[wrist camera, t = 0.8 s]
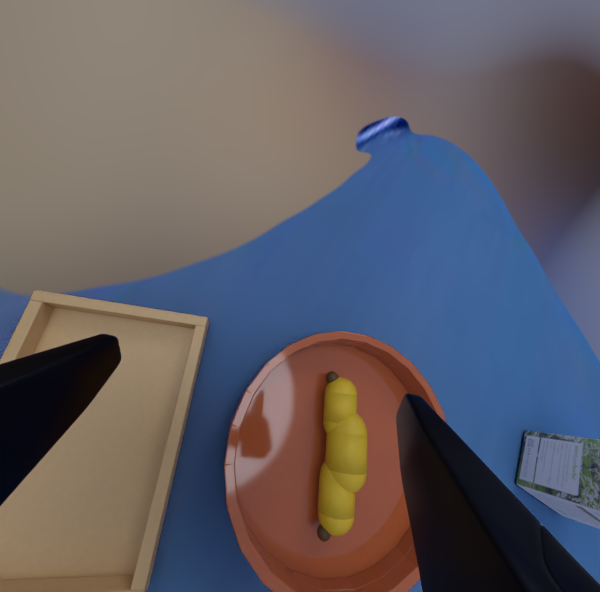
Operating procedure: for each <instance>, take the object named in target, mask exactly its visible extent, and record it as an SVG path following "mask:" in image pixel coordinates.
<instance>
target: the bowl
mask: <svg viewBox="0 0 600 592" xmlns="http://www.w3.org/2000/svg"><path fill="white" fill-rule="evenodd" d="M330 371H334V372H336V373H337V374H338V376H339V377H344V378H346V379H348V380H350V381H351V382H352V383H353V384H354V386H355V388H356V391H357V414H358V415H359V416H360V417H361V418H362V419H363V421H364V423H365V425H366V428H367V477H366V481H365V483H364V485H363V487H362V488H361V489H360V490H359V491H358V492H356V493H355V515H354V522H353V525H352V527H351V529H350V530H349V531H348V532H347V533H346V534H345V535H342V536H333V535H331V536H330V538H329V540H328V541H325V542H324V541H321V540H320V539H319V537H318V535H317V528H318V526H319V525H320V521H319V518H318V494H319V478H320V470H321V467H322V465H323V463H324V462H325V453H326V436H327V433H326V431H325V429H324V426H323V413H324V397H325V388H326V386H327V384H328V382H327V381H326V375H327V373H328V372H330ZM407 393H409V394H414V395H419V396H421V397H422V398H423V399H424V400H425V401H426V402H427V403H428V404H429V405H430V406H431V407H432V409H433V410H434V411H435V412H436V413H437V414H438V415H439V416H440V417H441V418H442V419H443V420H444V421H445V422H446V419H445V416H444V413H443V410H442V408H441V406H440V404H439V402H438V400H437V398H436V396H435V394H434V392H433V390H432V388H431V386H430V385H429V383H428V382H427V381H426V380H425V378H424V377H423V376H422V375H421V373H420V372H419V371H418V370H417V368H416V367H415V366H414V365H413V363H411V362H410V361H409V360H408V359H406V358H405V357H404V356H403V355H401V354H400V353H399V352H398V351H396V350H395V349H394V348H393V347H391V346H390V345H387V344H385V343H383V342H381V341H379V340H376V339H374V338H372V337H370V336H368V335H363V334H357V333H351V332H345V331H337V332H328V333H319V334H314V335H312V336H309V337H307V338H305V339H302V340H300V341H297V342H295V343H293V344H290V345H289V346H287V347H286V348H284V349H283V350H282V351H280V352H279V353H278V354H277V355H275V356H274V357H273V358H271V359H270V360H269V361H268V362H266V363H265V364H264V365H263V366H262V367H261V368H260V369H259V371H258V372H257V373H256V374H255V376H254V377H253V378H252V379H251V381H250V382H249V384H248V385H247V386H246V388H245V389H244V391H243V393H242V395H241V397H240V399H239V401H238V403H237V405H236V408H235V411H234V413H233V416H232V418H231V421H230V425H229V431H228V435H227V442H226V448H225V453H224V474H225V490H226V506H227V510H228V513H229V516H230V520H231V523H232V526H233V529H234V532H235V535H236V538H237V542H238V545H239V547H240V550H241V551H242V553H243V554H244V556H245V557H246V559H247V560H248V562H249V563H250V565H251V566H252V568H253V569H254V571H255V572H256V574H257V576H258V577H259V579H260V580H261V582H262V583H264V585H265V586H267V587H268V588H269V589H271V590H272V591H273V592H407V591H409V590H410V589H411V588H412V587H413V586H414V585H415V584H416V583H417V582H418V581H419V580H420V574H419V569H418V564H417V558H416V553H415V548H414V542H413V537H412V532H411V527H410V521H409V516H408V511H407V506H406V500H405V495H404V490H403V485H402V479H401V471H400V461H399V449H398V437H397V426H396V415H397V411H398V409H399V406H400V404H401V401H402V399H403V397H404V395H405V394H407Z"/></svg>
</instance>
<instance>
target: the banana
mask: <svg viewBox="0 0 600 592" xmlns="http://www.w3.org/2000/svg"><path fill="white" fill-rule="evenodd" d="M326 381H327V382H328V384H327V386H326V388H325V397H324V413H323V426H324V429H325V431H326V433H327V436H326V453H325V462H324V463H323V465H322V467H321V470H320V478H319V494H318V518H319V521H320V525H319V526H318V528H317V535H318V537H319V539H320V540H321V541H324V542H325V541H328V540H329V538H330V536H331V535H333V536H342V535H345V534H346V533H347V532H348V531H349V530H350V529H351V527H352V525H353V522H354V515H355V493H356V492H358V491H359V490H360V489H361V488H362V487H363V485H364V483H365V481H366V477H367V428H366V425H365V423H364V421H363V419H362V418H361V417H360V416H359V415H358V414H357V391H356V388H355V386H354V384H353V383H352V382H351V381H350V380H348V379H346V378H344V377H339V376H338V374H337V373H336V372H334V371H330V372H328V373H327V375H326Z"/></svg>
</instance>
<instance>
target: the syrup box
mask: <svg viewBox="0 0 600 592" xmlns="http://www.w3.org/2000/svg"><path fill="white" fill-rule="evenodd" d="M516 484H517V485H518V486H520V487H521V488H522V489H524V490H525V491H527V492H528V493H530V494H531V495H532V496H534V497H535V498H537V499H538V500H540V501H541V502H543V503H544V504H545V505H547V506H548V507H550V508H551V509H553V510H554V511H556V512H557V513H558V514H560V515H562V516H565V517H567V518H570V519H573V520H576V521H579V522H581V523H584V524H587V525H590V526H593V527H596V528H599V529H600V440H597V439H589V438H581V437H574V436H566V435H558V434H550V433H543V432H536V431H528V430H526V431H525V434H524V440H523V446H522V451H521V457H520V463H519V469H518V474H517V481H516Z"/></svg>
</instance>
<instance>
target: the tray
mask: <svg viewBox="0 0 600 592" xmlns="http://www.w3.org/2000/svg"><path fill="white" fill-rule="evenodd" d="M30 300H32V301H29V303H28V305H27V307H26V309H25V311H24V313H23V315H22V317H21V319H20V321H19V323H18V325H17V327H16V330H15V332H14V334H13V336H12V338H11V340H10V342H9V344H8V346H7V348H6V350H5V352H4V354H3V356H2V358H1V360H0V364H2V363H5V362H9V361H12V360H15V359H19V358H22V357H25V356H29V355H32V354H35V353H39V352H42V351H45V350H49V349H52V348H56V347H59V346H62V345H66V344H69V343H72V342H76V341H79V340H82V339H86V338H89V337H92V336H96V335H99V334H108V335H113V336H116V337H117V338H118V341H119V346H120V351H121V362H120V364H119V365H118V367H117V368H116V369H115V371H114V372H113V374H112V375H111V376H110V378H109V379H108V380H107V382H106V383H105V384H104V386H103V387H102V388H101V390H100V391H99V393H98V394H97V395H96V397H95V398H94V399H93V401H92V402H91V403H90V404H89V406H88V407H87V408H86V409H85V411H84V412H83V413H82V414H81V415H80V416H79V418H78V419H77V420H76V421H75V422H74V423H73V424H72V426H71V427H70V428H69V429H68V430H67V431H66V432H65V434H64V435H63V436H62V437H61V438H60V439H59V440H58V441H57V443H56V444H55V445H54V446H53V447H52V448H51V449H50V451H49V452H48V453H47V454H46V455H45V456H44V457H43V458H42V460H41V461H40V462H39V463H38V464H37V465H36V466H35V468H34V469H33V470H32V471H31V472H30V473H29V474H28V475H27V477H26V478H25V479H24V480H23V481H22V482H21V483H20V485H19V486H18V487H17V488H16V489H15V490H14V491H13V492H12V494H11V495H10V496H9V497H8V498H7V499H6V500H5V502H4V503H3V504H2V505H1V506H0V592H146V591H147V589H148V587H149V584H150V579H151V575H152V571H153V566H154V562H155V557H156V553H157V549H158V544H159V540H160V536H161V531H162V527H163V522H164V518H165V514H166V509H167V505H168V501H169V496H170V492H171V488H172V483H173V479H174V474H175V470H176V466H177V461H178V457H179V453H180V448H181V444H182V439H183V435H184V431H185V426H186V422H187V418H188V413H189V409H190V405H191V400H192V396H193V391H194V387H195V383H196V378H197V374H198V370H199V365H200V361H201V356H202V352H203V348H204V343H205V339H206V335H207V330H208V326H209V321H208V318H207V317H202V316H196V315H190V314H183V313H177V312H171V311H165V310H158V309H152V308H146V307H140V306H133V305H127V304H121V303H115V302H108V301H102V300H96V299H90V298H83V297H77V296H71V295H65V294H58V293H52V292H46V291H40V290H35V291H34V293H33V295H32V297H31V299H30Z"/></svg>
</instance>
